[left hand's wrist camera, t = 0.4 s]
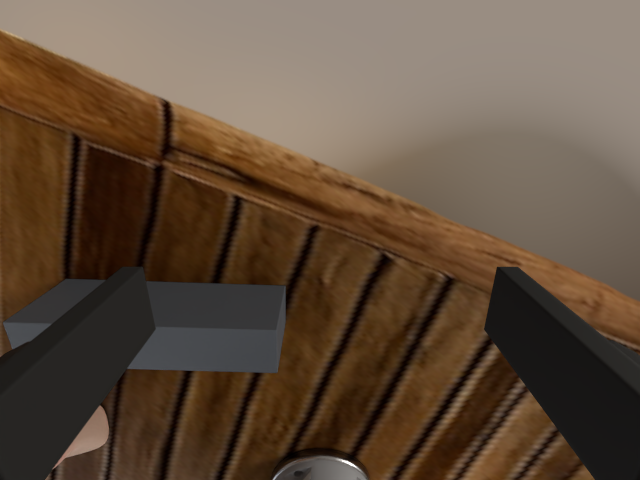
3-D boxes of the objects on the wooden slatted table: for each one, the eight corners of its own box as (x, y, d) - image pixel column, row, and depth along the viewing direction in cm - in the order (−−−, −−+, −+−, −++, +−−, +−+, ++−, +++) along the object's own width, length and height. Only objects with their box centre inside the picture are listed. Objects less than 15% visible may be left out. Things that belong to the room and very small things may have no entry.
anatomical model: (73, 413, 42) (110, 475, 46) (93, 388, 46) (125, 448, 50) (-26, 427, 43) (19, 486, 47) (2, 401, 47) (41, 459, 51)
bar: (285, 285, 40) (276, 330, 32) (285, 322, 42) (277, 373, 34) (66, 278, 40) (2, 322, 32) (76, 315, 42) (18, 366, 34)
